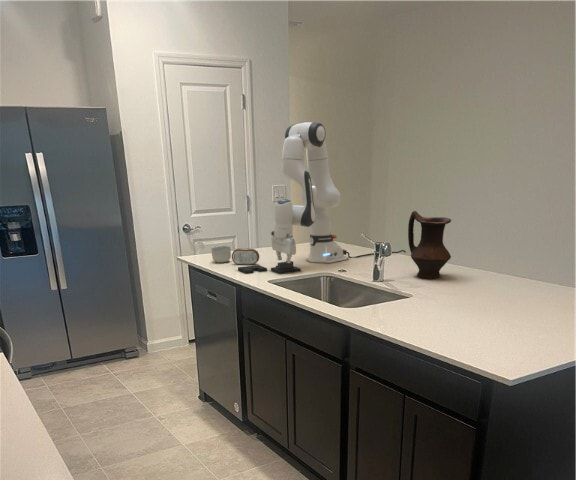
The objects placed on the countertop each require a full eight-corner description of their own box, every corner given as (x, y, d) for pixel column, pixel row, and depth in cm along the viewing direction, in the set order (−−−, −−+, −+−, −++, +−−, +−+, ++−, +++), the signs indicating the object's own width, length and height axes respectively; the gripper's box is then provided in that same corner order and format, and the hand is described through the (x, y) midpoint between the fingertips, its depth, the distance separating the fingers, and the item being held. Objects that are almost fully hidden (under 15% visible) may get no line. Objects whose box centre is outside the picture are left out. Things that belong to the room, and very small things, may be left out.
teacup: (233, 262, 304) (232, 248, 301) (214, 264, 300) (213, 249, 297) (226, 258, 316) (225, 244, 313) (208, 260, 312) (207, 245, 309)
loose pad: (288, 267, 290) (287, 258, 289) (300, 271, 280) (300, 262, 278) (267, 269, 285) (267, 260, 283) (279, 274, 274) (279, 265, 273)
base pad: (258, 267, 290) (258, 264, 289) (267, 271, 282) (267, 268, 281) (237, 270, 285) (237, 267, 284) (246, 273, 277) (245, 270, 276)
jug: (453, 274, 266) (460, 210, 254) (442, 282, 252) (449, 214, 240) (411, 270, 276) (416, 208, 264) (399, 277, 262) (403, 212, 250)
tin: (259, 263, 299) (259, 248, 296) (258, 265, 296) (258, 249, 293) (232, 263, 301) (231, 248, 297) (231, 265, 298) (230, 249, 295)
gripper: (299, 235, 266) (299, 264, 272) (280, 231, 283) (280, 258, 288) (287, 236, 264) (287, 265, 269) (269, 231, 280) (269, 258, 286)
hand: (283, 261), depth 279 cm, fingers open, 8 cm apart
